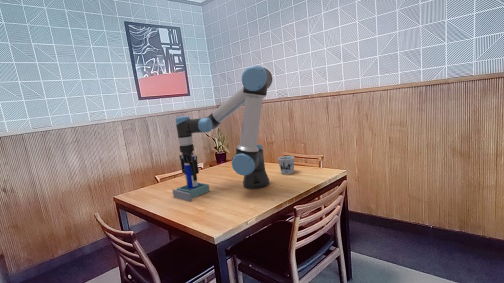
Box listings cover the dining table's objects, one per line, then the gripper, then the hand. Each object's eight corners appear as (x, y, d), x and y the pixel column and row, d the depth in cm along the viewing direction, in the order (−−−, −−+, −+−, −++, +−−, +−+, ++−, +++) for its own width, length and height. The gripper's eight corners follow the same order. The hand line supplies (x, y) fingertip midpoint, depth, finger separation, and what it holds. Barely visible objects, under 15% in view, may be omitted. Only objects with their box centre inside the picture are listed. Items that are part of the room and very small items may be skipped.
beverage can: (188, 187, 158) (184, 161, 155) (197, 186, 158) (194, 160, 156) (187, 190, 152) (183, 163, 150) (196, 189, 153) (192, 162, 151)
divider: (192, 200, 143) (191, 193, 143) (190, 201, 142) (189, 194, 142) (175, 196, 154) (174, 189, 153) (173, 196, 153) (172, 189, 153)
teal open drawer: (209, 191, 156) (208, 184, 155) (190, 198, 147) (189, 191, 146) (195, 188, 164) (195, 181, 164) (177, 195, 155) (176, 188, 155)
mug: (278, 175, 171) (277, 160, 169) (280, 169, 185) (278, 155, 184) (295, 174, 169) (294, 158, 168) (296, 168, 184) (294, 153, 182)
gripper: (201, 143, 148) (207, 185, 152) (182, 142, 160) (188, 181, 164) (190, 146, 143) (196, 189, 146) (171, 145, 155) (177, 185, 158)
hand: (192, 185), depth 155 cm, fingers closed on beverage can, 5 cm apart
